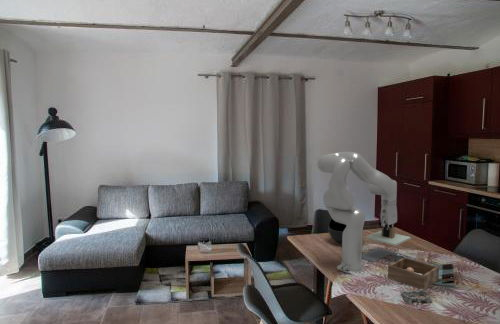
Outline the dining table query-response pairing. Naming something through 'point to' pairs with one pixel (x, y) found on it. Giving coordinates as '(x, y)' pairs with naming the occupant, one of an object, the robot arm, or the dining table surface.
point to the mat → (380, 255)
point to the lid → (392, 239)
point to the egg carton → (417, 293)
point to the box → (410, 278)
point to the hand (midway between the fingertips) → (387, 235)
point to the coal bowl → (336, 230)
